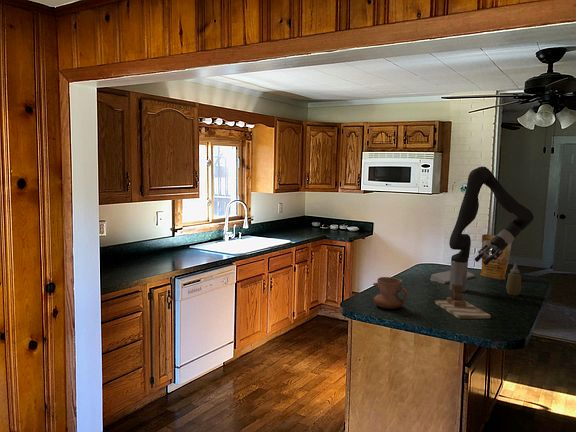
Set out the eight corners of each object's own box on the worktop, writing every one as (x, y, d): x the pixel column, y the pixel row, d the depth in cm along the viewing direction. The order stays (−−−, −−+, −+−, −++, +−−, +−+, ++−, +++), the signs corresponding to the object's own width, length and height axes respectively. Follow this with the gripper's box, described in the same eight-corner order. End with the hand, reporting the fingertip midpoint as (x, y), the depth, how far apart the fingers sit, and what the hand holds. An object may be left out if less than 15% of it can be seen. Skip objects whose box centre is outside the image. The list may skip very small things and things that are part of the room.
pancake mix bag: (480, 274, 334) (483, 233, 331) (509, 279, 321) (513, 237, 318) (476, 275, 329) (479, 234, 326) (506, 280, 316) (509, 237, 313)
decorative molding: (472, 281, 324) (459, 274, 331) (474, 275, 323) (461, 268, 330) (442, 288, 303) (429, 281, 310) (445, 281, 301) (431, 274, 308)
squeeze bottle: (506, 291, 287) (508, 261, 285) (521, 294, 283) (524, 263, 281) (504, 294, 280) (507, 263, 278) (520, 297, 276) (522, 265, 274)
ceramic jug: (366, 307, 246) (368, 279, 244) (377, 300, 258) (379, 274, 256) (400, 314, 237) (403, 286, 235) (410, 307, 249) (413, 280, 247)
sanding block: (446, 301, 256) (447, 282, 255) (457, 301, 256) (458, 282, 255) (454, 306, 247) (455, 287, 246) (465, 306, 248) (467, 287, 247)
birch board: (435, 303, 257) (435, 300, 257) (463, 302, 260) (463, 300, 260) (459, 318, 232) (459, 315, 232) (490, 318, 234) (490, 315, 234)
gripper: (490, 233, 258) (468, 254, 257) (505, 237, 244) (482, 259, 243) (498, 243, 259) (477, 264, 259) (514, 247, 245) (491, 270, 245)
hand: (479, 262), depth 251 cm, fingers open, 8 cm apart
